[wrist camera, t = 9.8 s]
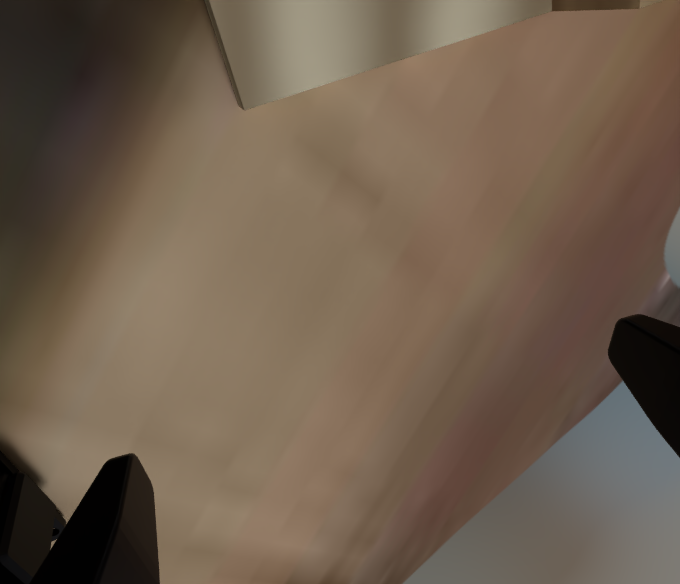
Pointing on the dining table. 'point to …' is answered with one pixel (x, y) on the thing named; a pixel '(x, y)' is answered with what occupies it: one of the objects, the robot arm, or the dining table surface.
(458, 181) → the dining table surface
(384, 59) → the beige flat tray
